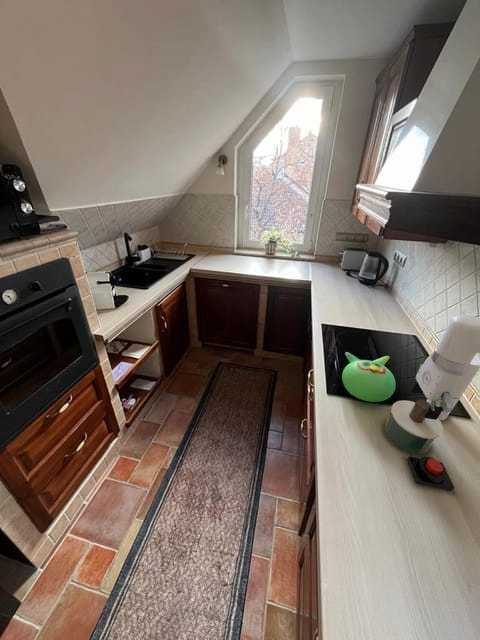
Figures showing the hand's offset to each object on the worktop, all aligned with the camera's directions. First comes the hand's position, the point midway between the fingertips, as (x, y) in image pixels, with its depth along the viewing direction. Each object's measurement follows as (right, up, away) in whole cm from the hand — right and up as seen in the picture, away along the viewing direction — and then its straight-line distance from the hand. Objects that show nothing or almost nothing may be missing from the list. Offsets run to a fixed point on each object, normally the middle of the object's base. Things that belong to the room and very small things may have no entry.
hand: (422, 404), depth 75 cm
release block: (-1, -19, -3) cm, 19 cm away
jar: (0, -13, +8) cm, 15 cm away
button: (0, -16, -5) cm, 17 cm away
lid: (0, -6, +3) cm, 6 cm away
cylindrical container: (+16, -8, +16) cm, 24 cm away
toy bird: (-7, -3, +24) cm, 25 cm away
